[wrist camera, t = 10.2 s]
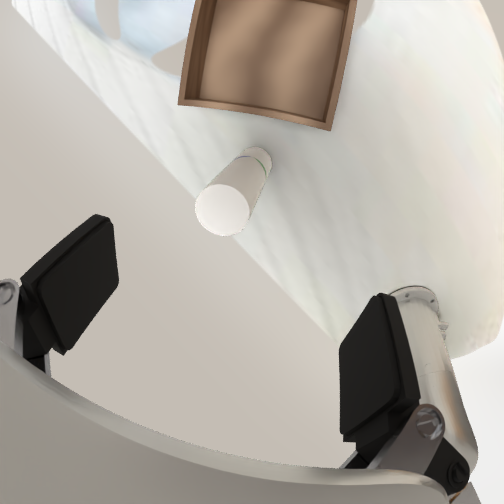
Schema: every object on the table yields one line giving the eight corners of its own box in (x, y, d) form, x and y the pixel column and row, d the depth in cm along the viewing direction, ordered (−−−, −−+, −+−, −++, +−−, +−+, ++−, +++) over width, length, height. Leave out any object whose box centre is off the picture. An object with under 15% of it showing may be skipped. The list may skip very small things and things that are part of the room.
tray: (344, 19, 21) (357, -5, 13) (323, 122, 28) (330, 131, 21) (226, 1, 21) (201, -23, 14) (207, 101, 29) (177, 105, 22)
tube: (264, 184, 34) (239, 243, 22) (233, 172, 34) (189, 224, 22) (277, 154, 32) (257, 196, 19) (244, 142, 32) (202, 176, 19)
